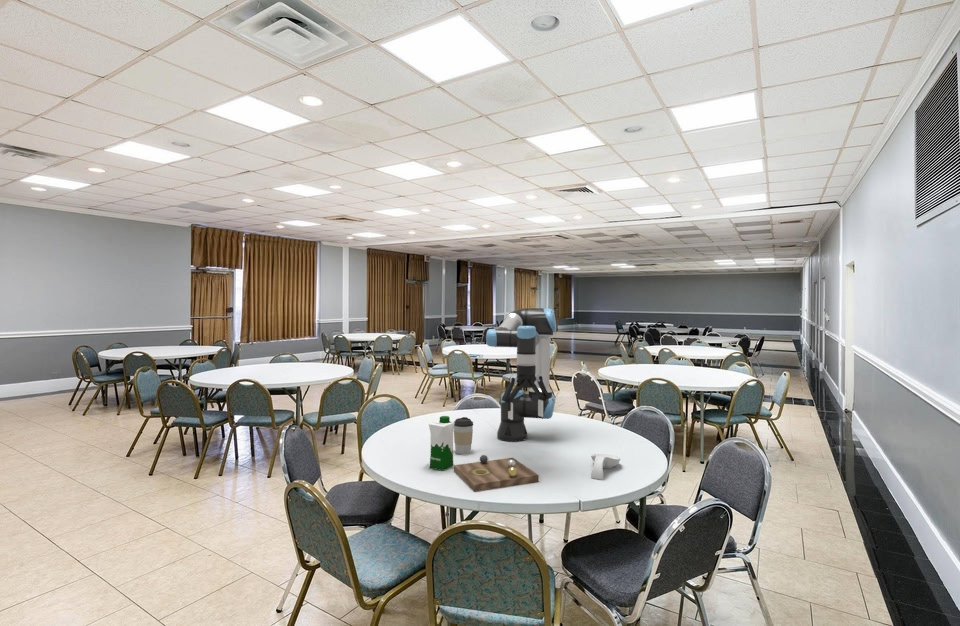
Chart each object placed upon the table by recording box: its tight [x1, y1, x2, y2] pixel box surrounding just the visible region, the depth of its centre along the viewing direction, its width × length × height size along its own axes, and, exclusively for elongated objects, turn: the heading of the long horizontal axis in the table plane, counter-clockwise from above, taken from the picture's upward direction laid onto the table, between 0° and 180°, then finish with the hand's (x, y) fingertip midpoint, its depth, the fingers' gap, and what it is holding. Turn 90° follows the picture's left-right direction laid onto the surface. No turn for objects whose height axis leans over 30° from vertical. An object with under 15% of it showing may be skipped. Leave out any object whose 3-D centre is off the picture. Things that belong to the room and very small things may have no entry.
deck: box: [453, 457, 540, 492], centre depth 185 cm, size 26×22×2 cm
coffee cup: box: [453, 416, 474, 455], centre depth 215 cm, size 9×9×15 cm
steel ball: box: [507, 459, 516, 467], centre depth 187 cm, size 3×3×3 cm
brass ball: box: [508, 467, 517, 477], centre depth 178 cm, size 4×4×4 cm
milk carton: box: [428, 415, 455, 471], centre depth 195 cm, size 9×9×20 cm
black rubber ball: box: [479, 454, 489, 463], centre depth 193 cm, size 3×3×3 cm
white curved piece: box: [590, 453, 621, 481], centre depth 193 cm, size 24×12×7 cm, turn 156°
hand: (525, 417), depth 191 cm, fingers open, 13 cm apart
